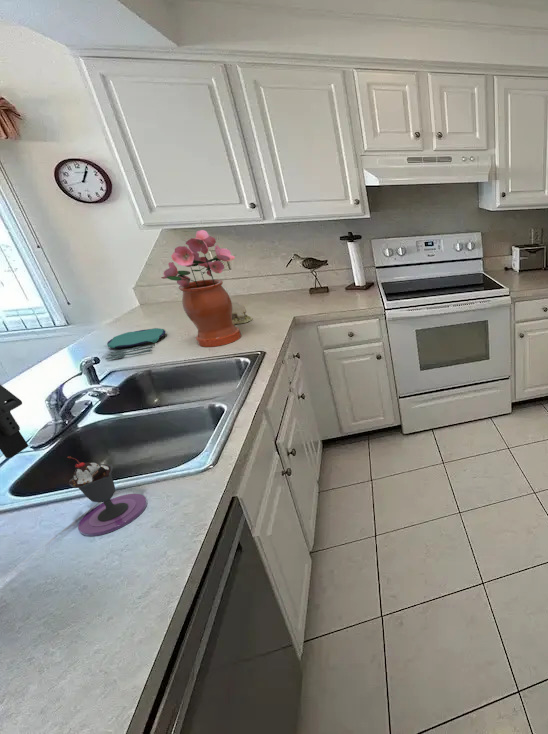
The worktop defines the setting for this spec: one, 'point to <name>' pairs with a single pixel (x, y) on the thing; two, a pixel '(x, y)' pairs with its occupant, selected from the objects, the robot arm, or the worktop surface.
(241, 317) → the ceramic model
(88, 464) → the sundae
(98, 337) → the worktop surface
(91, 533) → the plum plate
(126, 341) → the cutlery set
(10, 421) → the robot arm
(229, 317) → the potted flower
